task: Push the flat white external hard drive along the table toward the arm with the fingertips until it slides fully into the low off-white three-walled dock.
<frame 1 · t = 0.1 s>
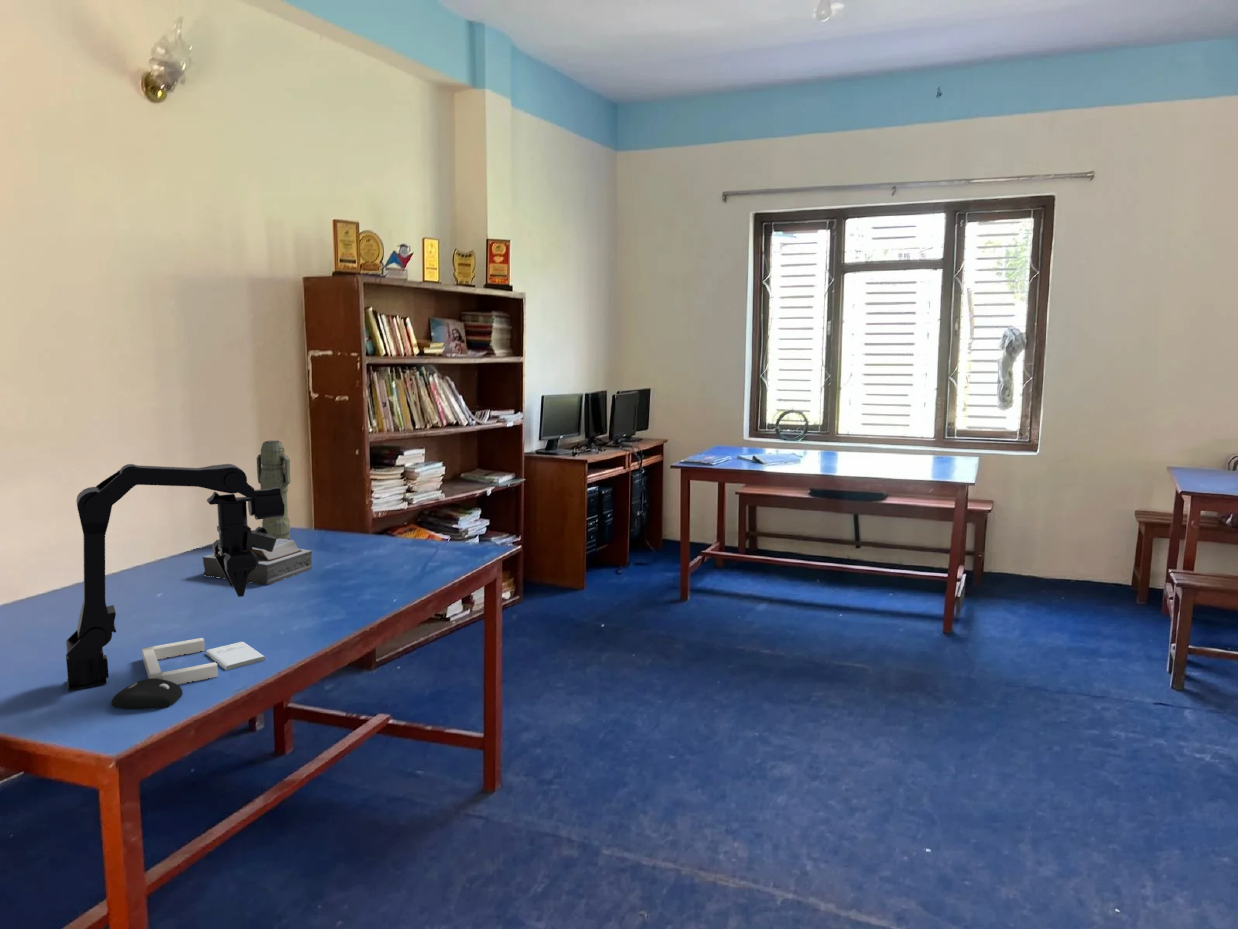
hand: (236, 591, 179), 15 cm above the table, tool pointing down, fingers open, 9 cm apart
external hard drive: (235, 660, 179), on the table
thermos: (277, 540, 284), on the table
computer mouse: (146, 703, 156), on the table
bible: (259, 574, 244), on the table
dock: (179, 667, 172), on the table
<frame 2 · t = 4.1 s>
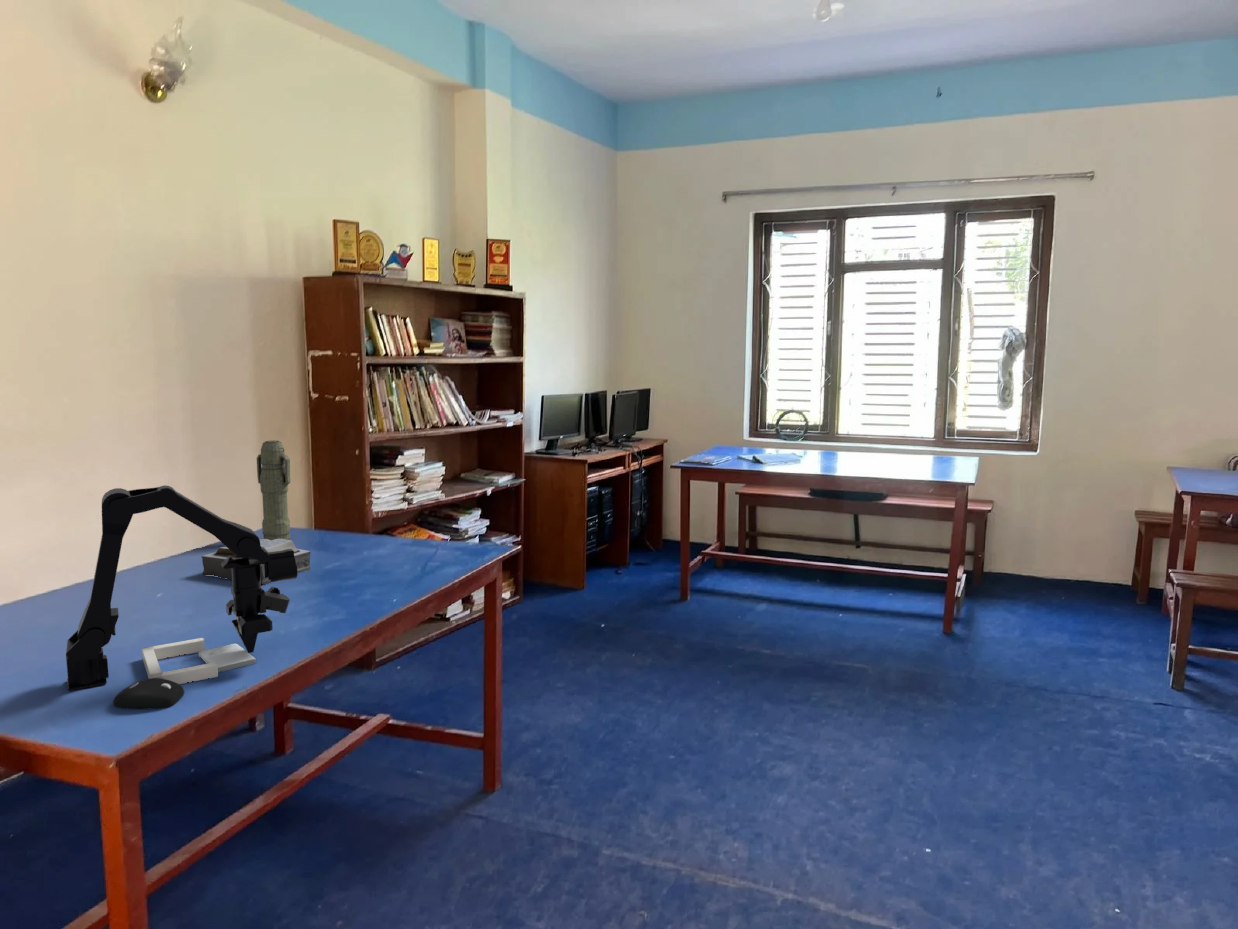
hand: (250, 652, 181), 0 cm above the table, tool pointing down, fingers closed
external hard drive: (227, 662, 178), on the table
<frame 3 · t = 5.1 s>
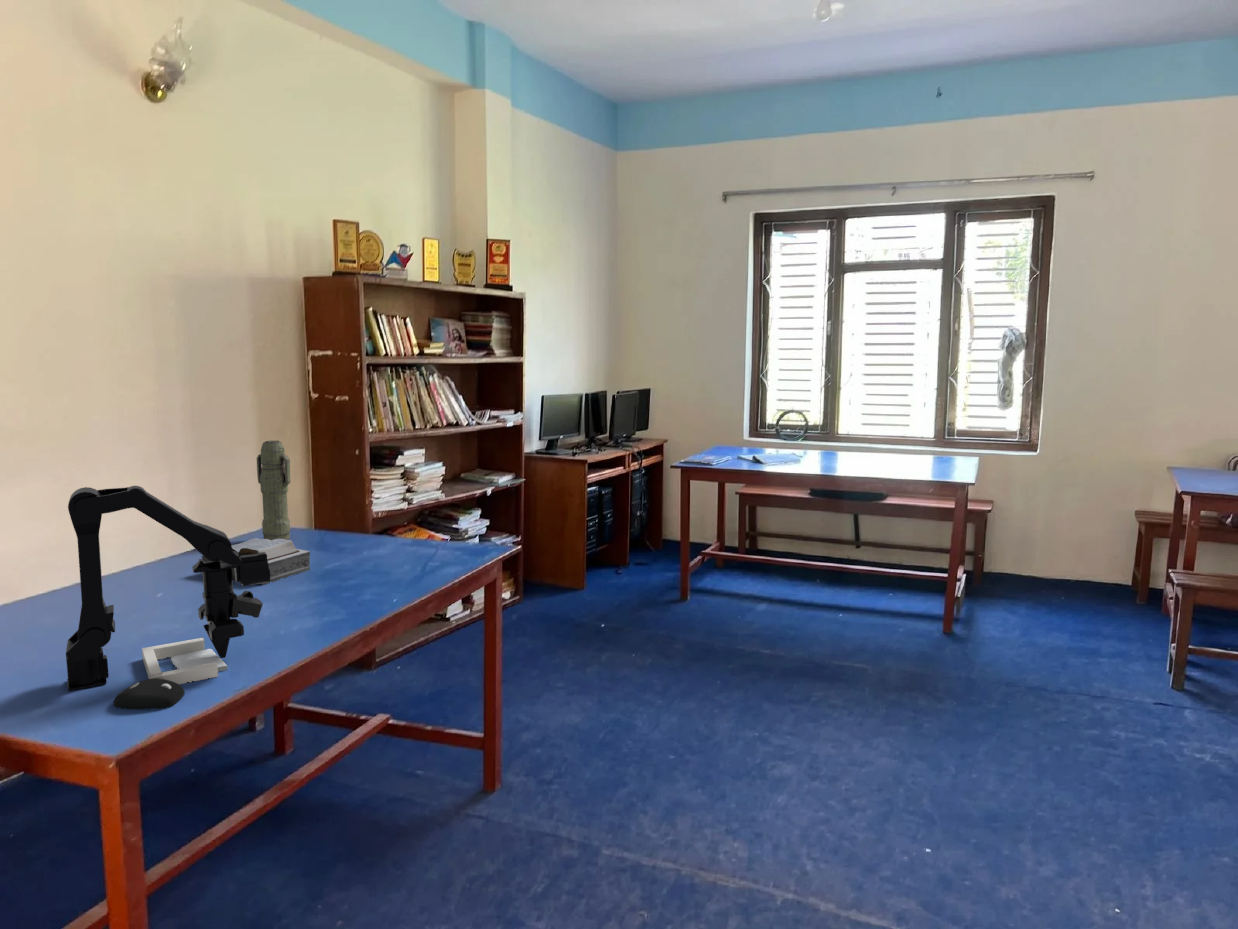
hand: (222, 657, 177), 0 cm above the table, tool pointing down, fingers closed
external hard drive: (199, 668, 174), on the table
everything else where it was.
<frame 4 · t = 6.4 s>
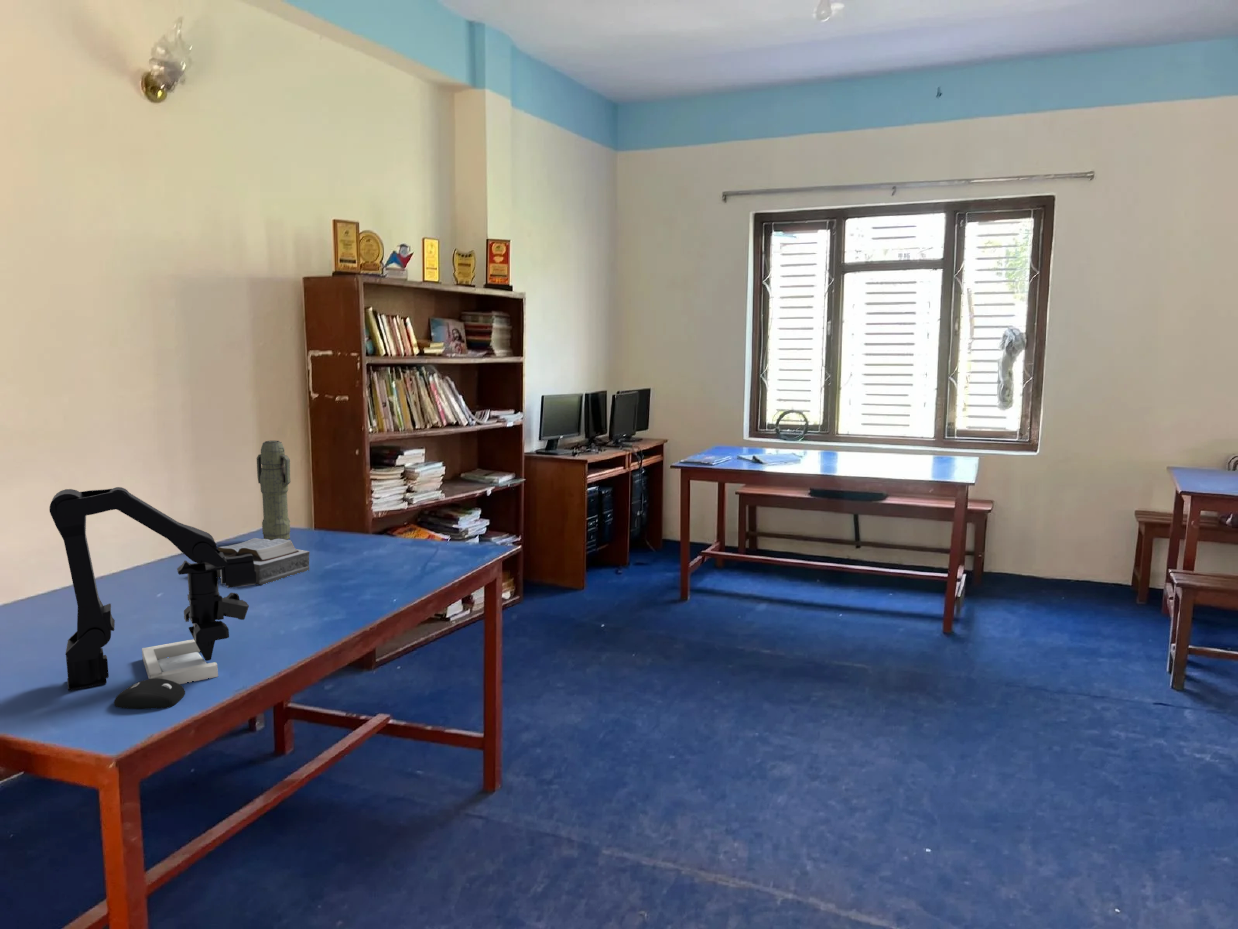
hand: (208, 660, 176), 1 cm above the table, tool pointing down, fingers closed
external hard drive: (184, 672, 172), on the table
everything else where it was.
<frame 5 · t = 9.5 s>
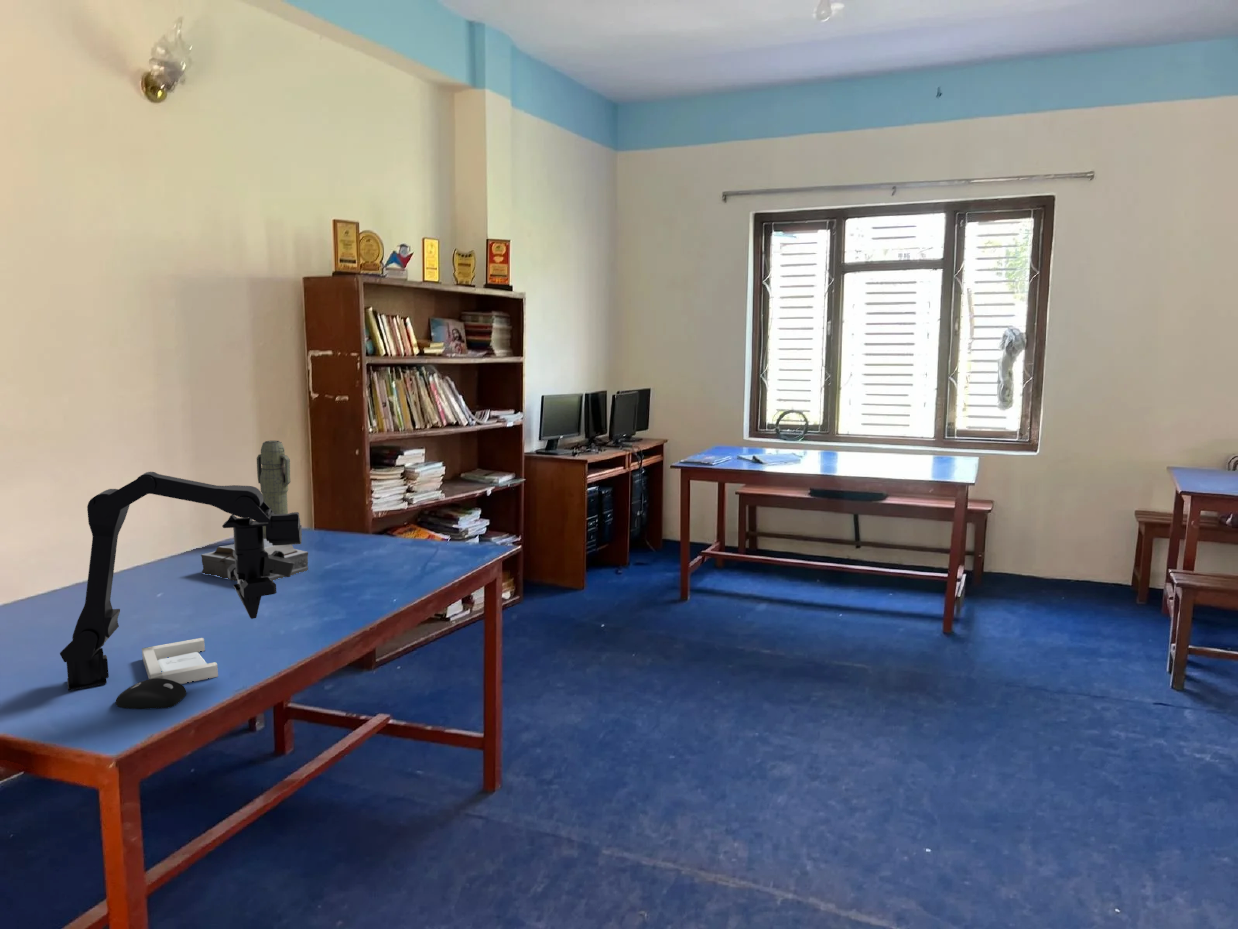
hand: (253, 618, 172), 11 cm above the table, tool pointing down, fingers closed
at the end: external hard drive inside the target area (1.0 cm from its centre), on the table; external hard drive tilted 0° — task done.
